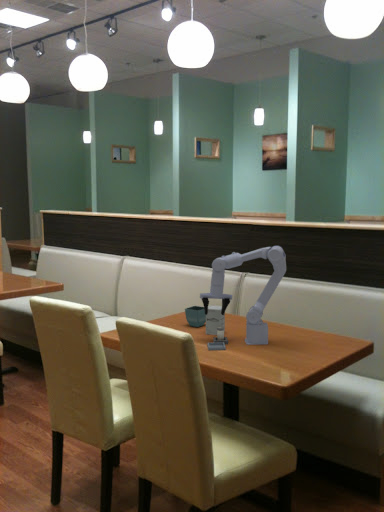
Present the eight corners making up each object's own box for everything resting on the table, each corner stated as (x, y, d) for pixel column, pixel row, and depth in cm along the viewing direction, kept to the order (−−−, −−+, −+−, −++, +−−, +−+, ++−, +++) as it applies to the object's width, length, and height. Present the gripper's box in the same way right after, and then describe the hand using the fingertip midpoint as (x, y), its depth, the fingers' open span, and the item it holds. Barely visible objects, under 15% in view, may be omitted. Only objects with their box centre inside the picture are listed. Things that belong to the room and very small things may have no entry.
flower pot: (194, 322, 271) (194, 305, 270) (209, 325, 266) (208, 307, 265) (184, 326, 264) (184, 308, 263) (198, 328, 259) (198, 310, 258)
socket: (226, 341, 238) (226, 336, 237) (228, 345, 232) (228, 340, 231) (213, 341, 237) (213, 337, 237) (214, 345, 231) (214, 341, 231)
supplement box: (205, 334, 248) (205, 308, 247) (210, 330, 255) (210, 305, 254) (220, 336, 246) (220, 309, 244) (225, 332, 252) (225, 306, 251)
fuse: (223, 341, 236) (223, 326, 235) (224, 343, 233) (224, 327, 232) (216, 341, 236) (216, 326, 235) (217, 343, 233) (217, 328, 232)
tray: (224, 345, 231) (224, 342, 231) (225, 350, 224) (225, 347, 223) (207, 346, 230) (207, 342, 230) (208, 351, 223) (208, 347, 223)
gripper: (230, 283, 241) (227, 312, 243) (199, 282, 238) (196, 311, 240) (234, 286, 235) (231, 316, 237) (203, 285, 231) (200, 315, 233)
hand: (214, 314), depth 238 cm, fingers open, 7 cm apart
